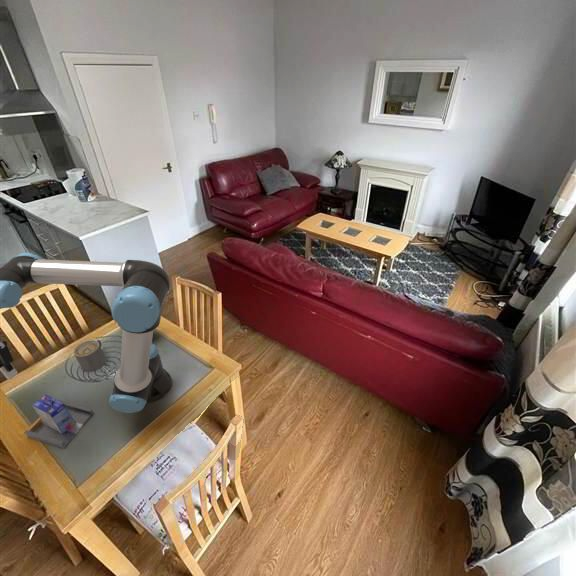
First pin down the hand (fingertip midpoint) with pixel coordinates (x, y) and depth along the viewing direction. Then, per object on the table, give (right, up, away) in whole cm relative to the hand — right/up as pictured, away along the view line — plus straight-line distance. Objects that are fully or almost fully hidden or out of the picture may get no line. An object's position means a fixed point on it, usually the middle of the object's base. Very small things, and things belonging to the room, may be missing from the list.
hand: (12, 375), depth 101 cm
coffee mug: (+3, -4, +40) cm, 40 cm away
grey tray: (+6, -23, +14) cm, 27 cm away
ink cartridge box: (+6, -22, +13) cm, 27 cm away
